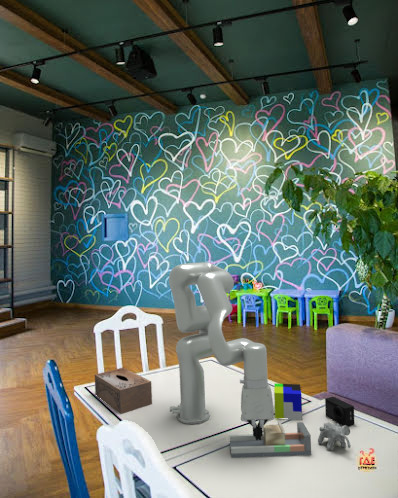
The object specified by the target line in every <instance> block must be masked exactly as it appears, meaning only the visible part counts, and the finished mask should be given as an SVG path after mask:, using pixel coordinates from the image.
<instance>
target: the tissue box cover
mask: <svg viewBox="0 0 398 498" xmlns="http://www.w3.org/2000/svg"><path fill="white" fill-rule="evenodd" d="M152 388H153V387H152V381H151V380H149V379H148V378H145V377H143V376H141V375H139V374H138V373H135V372H133V371H132V370H130V369H128V368H125V367H120V368H116V369H115V368H114V369H113V370H109V371H104V372H99V373H96V374H94V393H95V394H94V395H97V396H98V397H99V398H101V399H102V400H103V401H105V402H106V403H107V404H106V403H105V402H104V403H105V404H106V405H108V404H109V405H110V406H111V407H110V406H109V405H108V406H109V407H110V408H111V409H113V410H115V411H116V412H117V413H119V414H120V415H123V414H126V413H128V412H133V411H135V410H138V409H142V408H145V407H148V406H150V405H153V395H152ZM98 397H97V398H98ZM99 398H98V399H99ZM101 399H100V400H101ZM102 400H101V401H102ZM103 401H102V402H103Z"/></svg>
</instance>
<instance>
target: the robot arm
mask: <svg viewBox="0 0 398 498" xmlns="http://www.w3.org/2000/svg"><path fill="white" fill-rule="evenodd" d="M168 275H169V276H168V284H169V288H170V291H171V295H172V298H173V305H174V306H173V307H174V312H175V314H174V315H175V320H176V326H177V328H178V330H179V332H181V333H182V334H183V333H184V334H185V333H186V334H187V333H192V332H193V333H194V332H199V333H197V334H191V335H188V336H184V337H182V338H180V339H179V340H178V341H177V343H176V345H175V346H176V347H175V352H176V356H177V360H178V361H177V362H178V368H179V369H178V370H179V389H180V392H179V393H180V403H179V404H178V405H177V406H171V405H170V406H169V412H171V414H172V415H173V414H176V415H177V416H176V418H177V420H178V422H181V423H183V424H187V425H195V424H196V425H198V424H202V423H204V422H206V421H208V420H209V418H210V410H207V409H206V396H205V395H206V394H205V393H206V391H205V389H206V388H205V385H206V384H205V371H204V367H203V366H202V364H201V363H200V360H202V359H205V358H208V357H211V356H214V357H215V360H216V361H217V363H219V364H220V365H221V366H224V367H229V366H232V365H236V364H238V363H243V378H239V383H240V384H242V387H241V393H240V394H241V397H240V411H241V414H240V421H241V422H245V423H248V424H249V425H250V426H251V427H252V434H253V436H255V438H256V440H258V439H259V440H261V436H263V427H264V425H267V423H268V422H271V421H273V420H275V410H274V401H273V400H274V398H273V394H272V388H271V386H270V385H269V384H268V381H269V380H268V356H267V355H268V354H267V346H266V345H265V344H263V343H261V342H254V341H253V340H250V339H249V338H244V337H241V338H237V339H233V340H232V339H231V340H229V341H226V339H225V336H224V333H223V322H224V320H225V319H226V318H227V317H228V316H229V315H230V314H231V313H232V311H233V306H232V303H231V301H230V299H229V298H228V295H227V293H230V292H231V291H232V290H233V288H234V286H235V284H234V283H235V282H234V278H233V276H232V274H231V273H230V272H228V271H227V270H226V269H223V268H222V267H219V266H217V265H215V264H212V263H210V262H206V261H205V262H204V261H201V262H187V263H181V264H178V265H176V266H174V267H173V268H171V270H170V272H169V274H168ZM195 285H197V288H198V291H199V293H200V295H201V298H202V300H203V302H204V305H197V303H196V296H195V294H194V291H192V289H191V288H190V287H189V286H195ZM256 421H258V423H257V422H256Z"/></svg>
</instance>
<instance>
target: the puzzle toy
mask: <svg viewBox="0 0 398 498" xmlns="http://www.w3.org/2000/svg"><path fill="white" fill-rule="evenodd" d="M273 388H274V391H273V392H274V393H273V395H274V398H273V400H274V419H275V418H288V419H290V420H289V421H303V402H302V401H303V399H302V388H301V384H300V383H298V384H297V383H296V384H295V383H274V387H273Z"/></svg>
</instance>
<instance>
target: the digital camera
mask: <svg viewBox="0 0 398 498" xmlns="http://www.w3.org/2000/svg"><path fill="white" fill-rule="evenodd" d="M324 402H325V403H324V407H325V410H324V411H325V417H326V418H328V419H330V420H331V419H332V420H331V421H333V422H335V423H336V424H337V423H338V424H339V425H340V426H341V427H343V426H345V425H346V426H348V427H349V428H350V427H353V426H355V405H352V404H350V403H348V402H346V401H344V400H341V399H340V398H337V397H335V396H330V397H329V396H328V397H326V398H325V399H324Z"/></svg>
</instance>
